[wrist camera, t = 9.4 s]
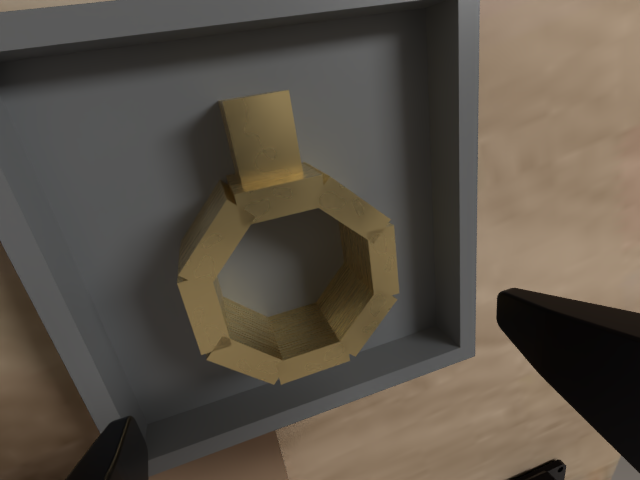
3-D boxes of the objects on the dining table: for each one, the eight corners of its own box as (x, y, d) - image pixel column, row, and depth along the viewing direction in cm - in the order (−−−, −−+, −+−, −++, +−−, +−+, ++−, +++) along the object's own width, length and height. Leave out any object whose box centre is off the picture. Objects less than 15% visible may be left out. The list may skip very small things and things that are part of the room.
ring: (371, 305, 18) (403, 342, 15) (214, 354, 16) (218, 406, 13) (345, 79, 14) (382, 75, 11) (136, 114, 12) (121, 118, 10)
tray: (444, 327, 20) (475, 356, 18) (135, 433, 17) (126, 484, 15) (434, -16, 14) (480, -37, 12) (-50, 39, 11) (-113, 23, 9)
